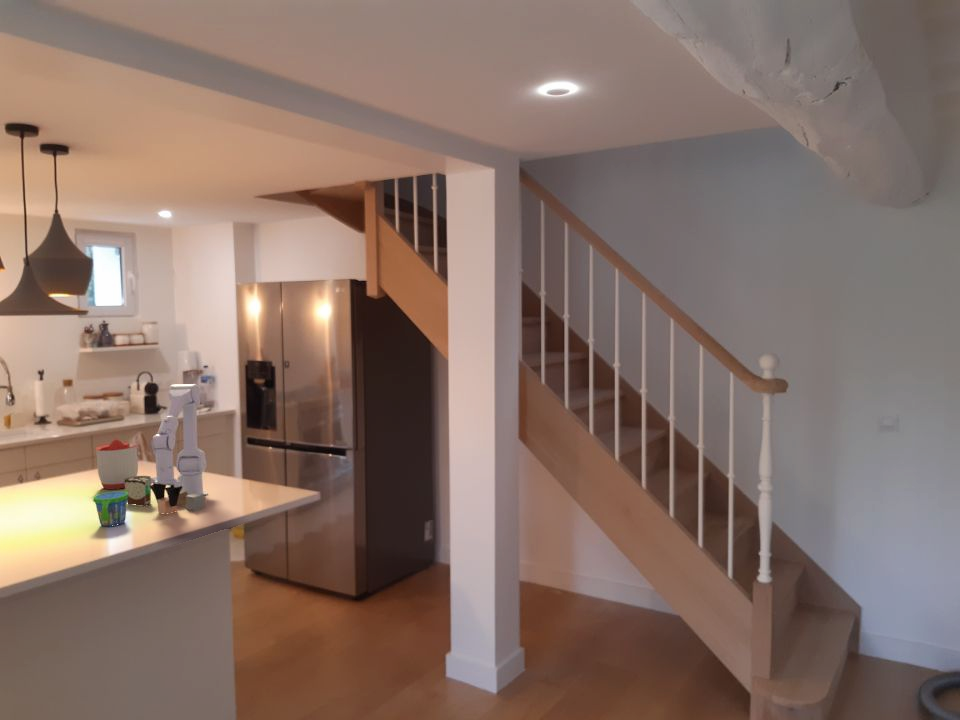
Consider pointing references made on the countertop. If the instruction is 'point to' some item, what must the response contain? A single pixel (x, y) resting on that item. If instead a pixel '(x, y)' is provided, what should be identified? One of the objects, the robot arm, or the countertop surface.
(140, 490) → the food container
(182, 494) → the walnut block
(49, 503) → the countertop surface
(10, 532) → the countertop surface
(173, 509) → the terracotta block
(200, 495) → the slate block
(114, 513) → the snack cup
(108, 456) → the citrus juicer
